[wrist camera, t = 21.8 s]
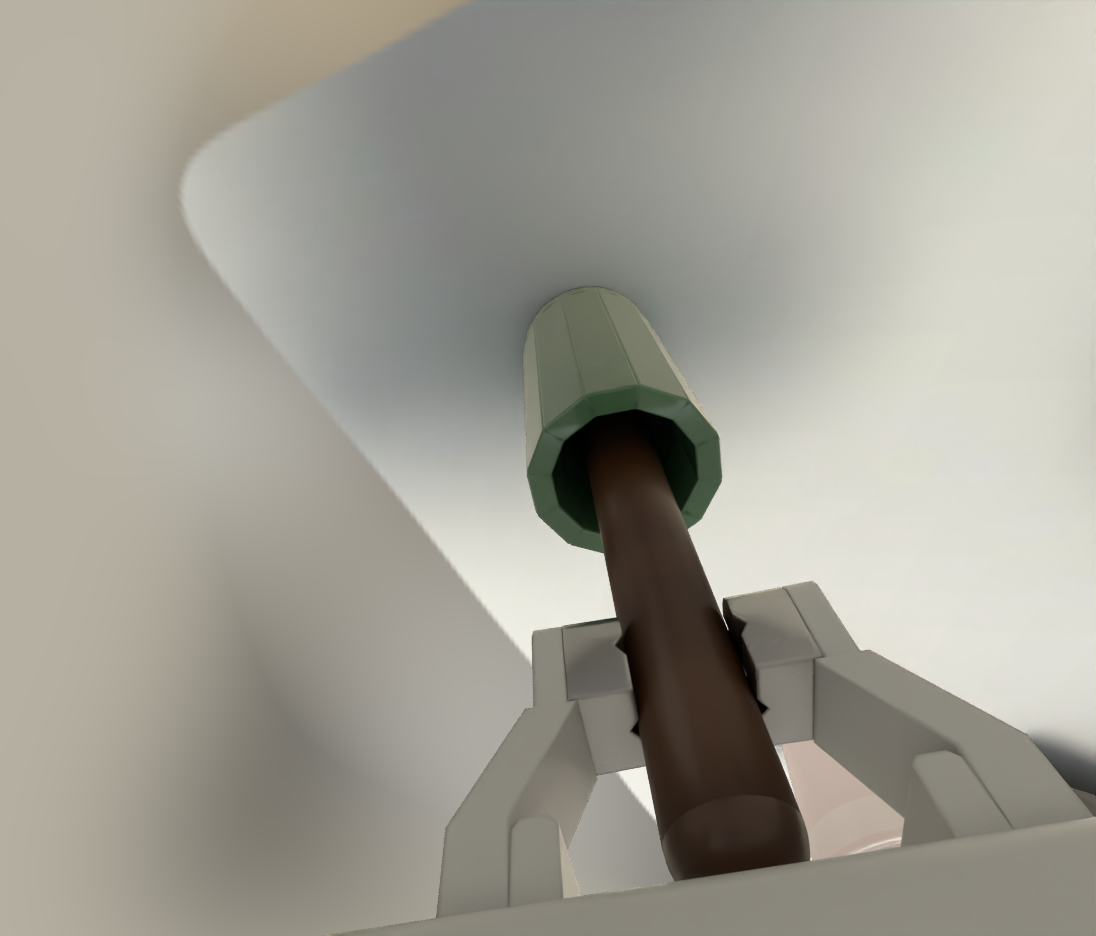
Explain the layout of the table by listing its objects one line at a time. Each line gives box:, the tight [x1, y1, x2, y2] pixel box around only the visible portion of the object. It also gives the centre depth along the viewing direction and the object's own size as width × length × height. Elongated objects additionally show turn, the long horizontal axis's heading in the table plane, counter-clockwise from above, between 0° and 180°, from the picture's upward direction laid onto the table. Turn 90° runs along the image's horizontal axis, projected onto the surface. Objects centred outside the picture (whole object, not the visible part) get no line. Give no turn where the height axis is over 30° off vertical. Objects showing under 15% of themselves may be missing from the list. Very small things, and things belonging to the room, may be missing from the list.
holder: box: [523, 287, 722, 553], centre depth 19 cm, size 5×5×9 cm
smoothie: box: [781, 740, 904, 860], centre depth 27 cm, size 6×6×14 cm
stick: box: [580, 409, 811, 881], centre depth 15 cm, size 2×2×18 cm
